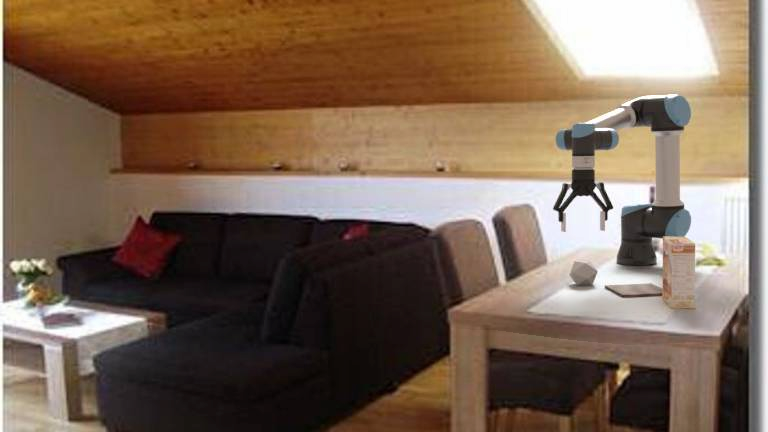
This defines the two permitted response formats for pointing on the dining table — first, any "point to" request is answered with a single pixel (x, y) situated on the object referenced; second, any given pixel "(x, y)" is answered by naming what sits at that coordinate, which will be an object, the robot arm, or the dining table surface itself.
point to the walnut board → (635, 290)
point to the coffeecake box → (678, 272)
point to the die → (583, 273)
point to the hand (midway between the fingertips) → (582, 231)
